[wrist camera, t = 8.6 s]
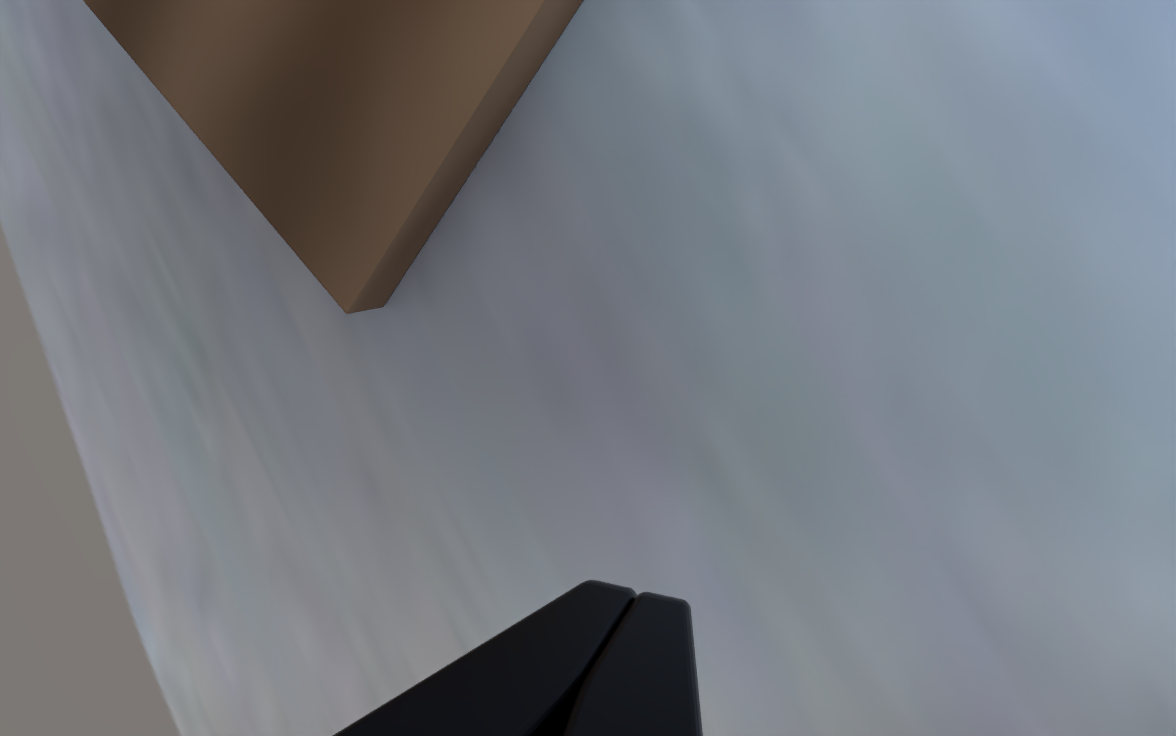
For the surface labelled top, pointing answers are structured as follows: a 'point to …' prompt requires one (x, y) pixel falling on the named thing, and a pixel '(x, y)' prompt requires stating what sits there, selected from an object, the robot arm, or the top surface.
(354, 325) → the top surface
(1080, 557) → the top surface
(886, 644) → the top surface
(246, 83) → the walnut sill
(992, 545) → the top surface
